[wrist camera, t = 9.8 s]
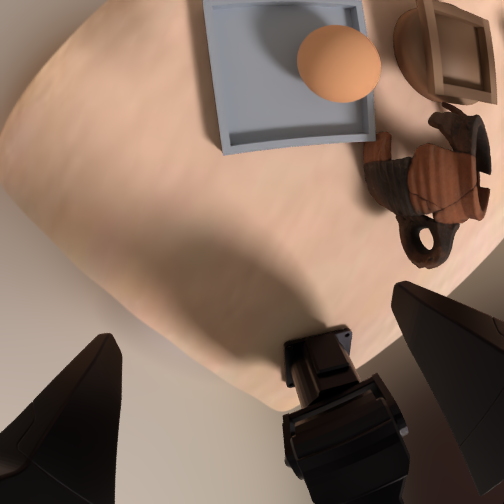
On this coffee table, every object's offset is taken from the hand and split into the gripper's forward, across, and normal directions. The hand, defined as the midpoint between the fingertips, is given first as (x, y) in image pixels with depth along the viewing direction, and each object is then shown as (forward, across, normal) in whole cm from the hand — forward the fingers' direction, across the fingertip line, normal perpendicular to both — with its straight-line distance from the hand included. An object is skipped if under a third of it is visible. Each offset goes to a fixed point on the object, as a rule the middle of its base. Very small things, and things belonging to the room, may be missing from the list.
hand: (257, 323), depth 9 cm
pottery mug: (+13, -14, 0) cm, 20 cm away
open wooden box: (+13, -17, -10) cm, 24 cm away
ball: (+10, -7, -8) cm, 15 cm away
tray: (+13, -5, -8) cm, 16 cm away
